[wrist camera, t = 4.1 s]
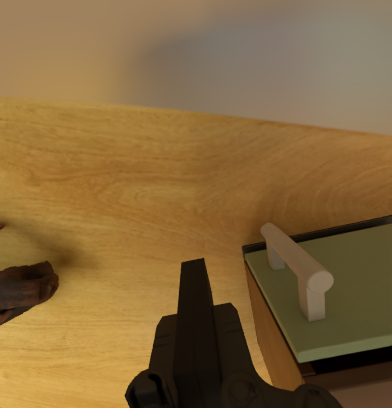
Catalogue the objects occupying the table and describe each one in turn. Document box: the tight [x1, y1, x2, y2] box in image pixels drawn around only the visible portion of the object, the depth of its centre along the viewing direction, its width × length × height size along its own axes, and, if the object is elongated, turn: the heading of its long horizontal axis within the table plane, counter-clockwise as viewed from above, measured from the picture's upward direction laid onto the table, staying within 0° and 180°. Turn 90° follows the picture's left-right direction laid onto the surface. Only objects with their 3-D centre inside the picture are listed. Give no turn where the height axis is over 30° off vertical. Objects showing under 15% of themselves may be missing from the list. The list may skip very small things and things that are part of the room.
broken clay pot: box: [0, 224, 59, 325], centre depth 18 cm, size 12×9×8 cm
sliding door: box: [245, 223, 392, 363], centre depth 14 cm, size 5×16×10 cm, turn 102°
